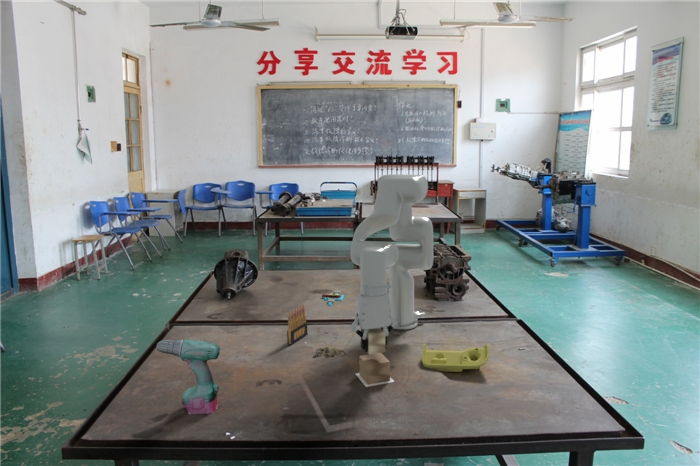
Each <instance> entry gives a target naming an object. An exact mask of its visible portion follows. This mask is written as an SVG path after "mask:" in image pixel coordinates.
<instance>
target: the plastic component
mask: <svg viewBox="0 0 700 466" xmlns="http://www.w3.org/2000/svg"><path fill="white" fill-rule="evenodd" d="M489 358H490V345H489V344H485V345H484V346H483V347H470V348H466V349H464V350H462V351H461V350H430V349H428V346H427V344H426V343H423V346H422V354H421V362H422V363H421V364H422V366H423V367H425V368H427V369H436V370H437V371H439V372H447V373H449V372H450V373H451V372H452V373H454V372H455V373H456V372H457V373H463V370H475V371H476V370H478V369H480V368H481V367H483V366H484V365H485V364H486V363H487V362H488V361H489Z"/></svg>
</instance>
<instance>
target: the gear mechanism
mask: <svg viewBox="0 0 700 466" xmlns="http://www.w3.org/2000/svg"><path fill="white" fill-rule="evenodd" d="M344 297H345V295H344V294H341V290H338V289H336V290H333V293H330V294H322V295H321V298H324V301H327V305H328V306H332V304H335V301H338V302H339V301H343V299H344Z"/></svg>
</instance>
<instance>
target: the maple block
mask: <svg viewBox="0 0 700 466" xmlns="http://www.w3.org/2000/svg"><path fill="white" fill-rule="evenodd" d="M367 339H368V352H367V354H375V353H382V354H383V353H386V349H385V332H384V331H383V330H382V329H381V328H375V329H369V330H368V333H367Z"/></svg>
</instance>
